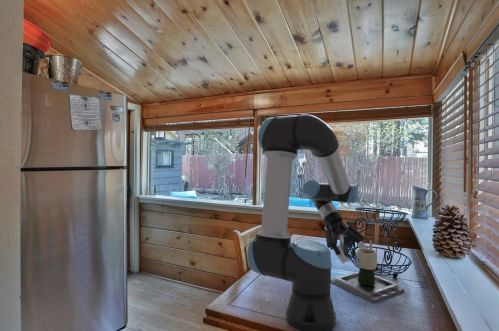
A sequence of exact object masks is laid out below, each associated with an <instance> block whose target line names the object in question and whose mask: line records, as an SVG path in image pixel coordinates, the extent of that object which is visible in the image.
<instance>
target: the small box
mask: <svg viewBox="0 0 499 331" xmlns="http://www.w3.org/2000/svg"><path fill="white" fill-rule="evenodd" d="M350 241H351V244H350ZM352 245H353V246H354V248H355V250H352V251H351V254H352V255H353V256H352V257H356V242H355V241H354V240H352V239H351V238H349V237H348V236H346V235H343V234H342V235H341V234H340V235H339V246H340V248H341V250H342V251H343V253H344V255H345V256H346V257H350V256H349V254H348V252H349V249H348V247H349V248H350V249H351V248H352ZM347 246H348V247H347Z"/></svg>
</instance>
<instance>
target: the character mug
mask: <svg viewBox="0 0 499 331" xmlns="http://www.w3.org/2000/svg"><path fill="white" fill-rule="evenodd" d="M356 253H357V256H356V258H357V261H356V265H357V266H358V267H359V275H358V282H359V283H360V284H365V285H375V276H374V275H375V272H374V270H377V269H376V266H377V264H378V262H377V259H378V255H377V254H378V252H377V250H375V249H373V248H372V249H369V248H358V249H357V252H356Z"/></svg>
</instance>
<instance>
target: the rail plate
mask: <svg viewBox="0 0 499 331" xmlns="http://www.w3.org/2000/svg"><path fill="white" fill-rule="evenodd" d="M358 275H359V271H355V272H352V273H349V274H348V273H347V274H343V275H340V276H337V277H335V278H331V283H332V284H333V285H335V286H338V287H339V288H342V289H344V290H346V291H348V292H350V293H352V294H354V295H356V296H358V297H360V298H362V299H364V300H366V301H368V302H371V303H373V304H375V303H378V302H380V301H383V300H386V299H388V298H390V297H393V296H396V295H400V294H402V293H405V288H403V287H400V286H399V284H398V283H395V282H392V281H391V280H388V279H385V278H382V277H380V276H378V275H375V274H374V276H375V285H365V284H360V283H359V282H358Z"/></svg>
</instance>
